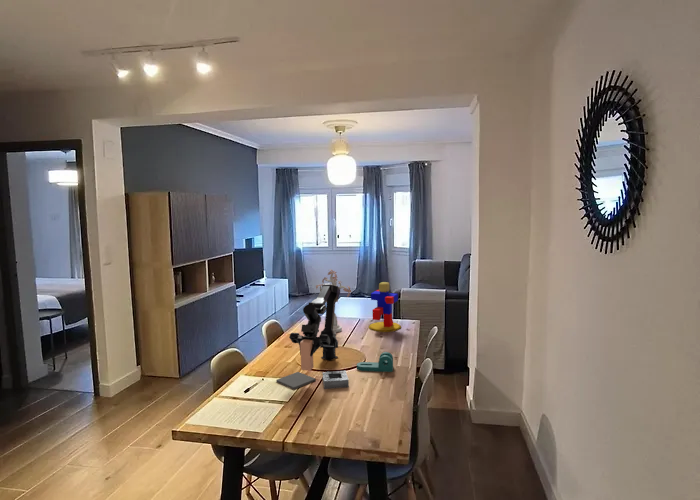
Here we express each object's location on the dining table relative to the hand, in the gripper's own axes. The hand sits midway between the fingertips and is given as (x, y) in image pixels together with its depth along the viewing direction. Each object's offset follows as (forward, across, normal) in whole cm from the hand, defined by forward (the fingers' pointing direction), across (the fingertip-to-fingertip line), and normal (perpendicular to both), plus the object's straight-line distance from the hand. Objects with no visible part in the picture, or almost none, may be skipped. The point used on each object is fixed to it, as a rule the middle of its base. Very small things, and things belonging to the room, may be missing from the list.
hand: (305, 355), depth 198 cm
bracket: (-8, +27, +27) cm, 39 cm away
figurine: (-59, +18, +79) cm, 100 cm away
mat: (+8, -6, +11) cm, 15 cm away
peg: (+4, 0, +6) cm, 7 cm away
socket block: (+7, +13, +12) cm, 19 cm away
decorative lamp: (-48, -12, +68) cm, 84 cm away
